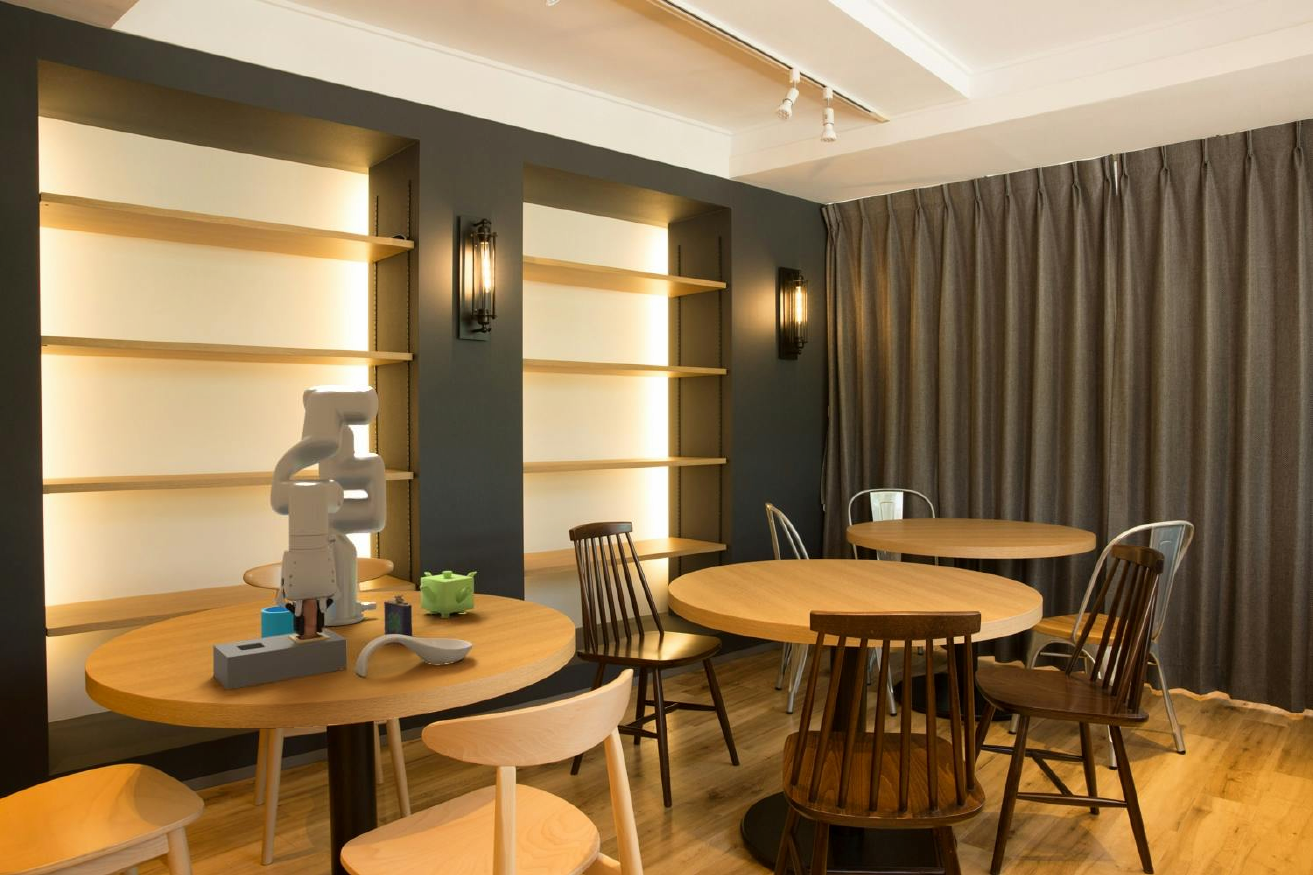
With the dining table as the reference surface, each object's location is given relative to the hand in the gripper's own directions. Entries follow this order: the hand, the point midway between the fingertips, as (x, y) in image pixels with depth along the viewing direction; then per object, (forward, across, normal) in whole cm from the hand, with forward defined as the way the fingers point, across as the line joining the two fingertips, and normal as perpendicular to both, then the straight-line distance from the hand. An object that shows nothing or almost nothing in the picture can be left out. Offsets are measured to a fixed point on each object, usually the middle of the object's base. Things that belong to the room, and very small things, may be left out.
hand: (309, 632), depth 174 cm
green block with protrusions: (+7, -45, -30) cm, 54 cm away
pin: (+3, 0, 0) cm, 3 cm away
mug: (+7, -3, -23) cm, 24 cm away
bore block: (+7, +5, 0) cm, 9 cm away
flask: (+7, -23, -9) cm, 25 cm away
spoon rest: (+8, -18, +12) cm, 23 cm away
